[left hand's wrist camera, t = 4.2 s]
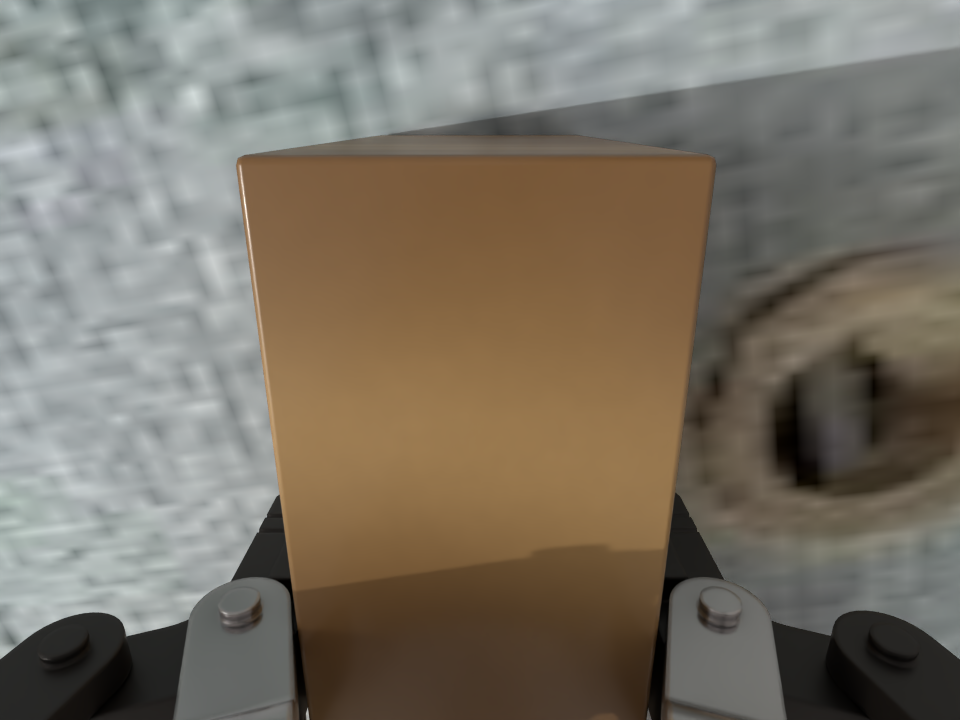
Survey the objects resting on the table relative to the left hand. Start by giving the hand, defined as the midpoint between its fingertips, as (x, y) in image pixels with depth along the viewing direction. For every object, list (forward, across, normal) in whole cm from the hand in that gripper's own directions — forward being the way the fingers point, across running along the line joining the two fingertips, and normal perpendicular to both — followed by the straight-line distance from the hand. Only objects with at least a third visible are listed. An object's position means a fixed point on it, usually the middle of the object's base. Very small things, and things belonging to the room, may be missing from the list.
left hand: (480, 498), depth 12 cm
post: (+4, 0, -21) cm, 22 cm away
